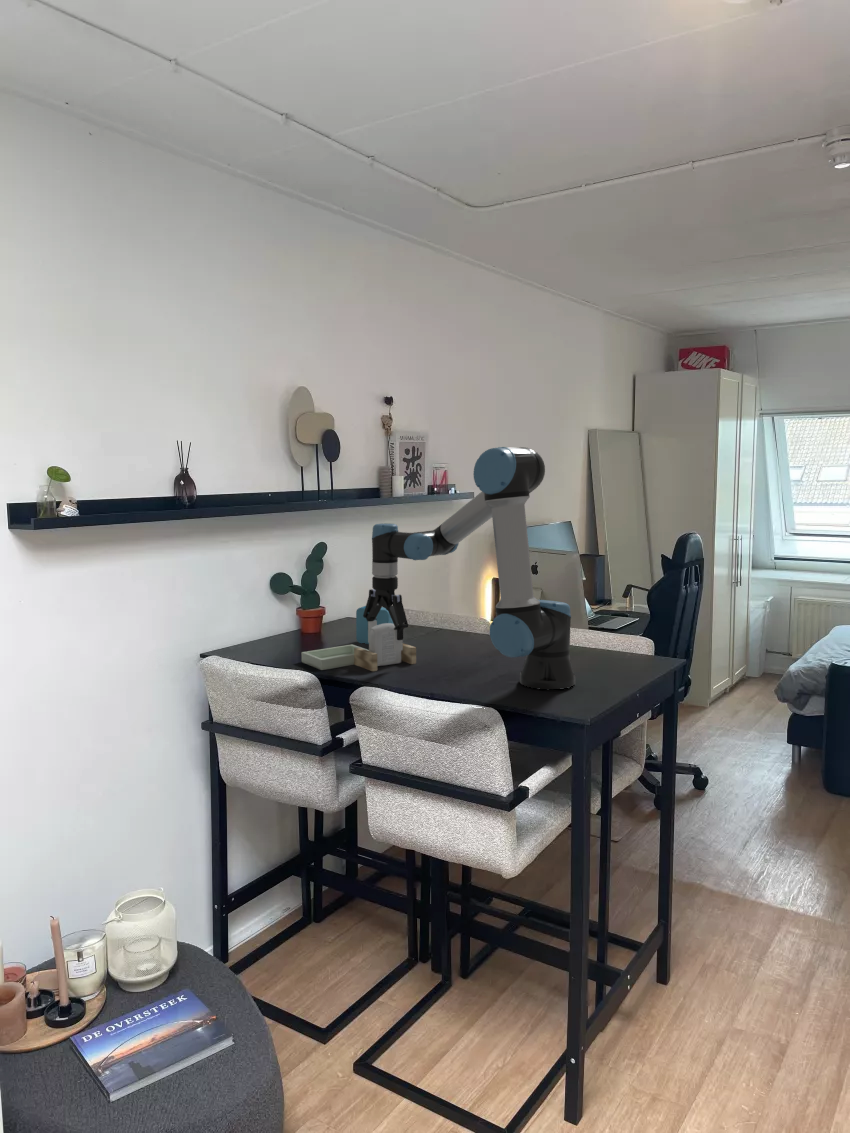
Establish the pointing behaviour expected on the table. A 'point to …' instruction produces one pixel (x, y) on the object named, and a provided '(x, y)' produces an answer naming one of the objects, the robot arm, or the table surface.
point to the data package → (363, 623)
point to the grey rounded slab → (384, 644)
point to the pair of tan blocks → (370, 658)
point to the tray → (330, 657)
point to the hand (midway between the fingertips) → (385, 646)
